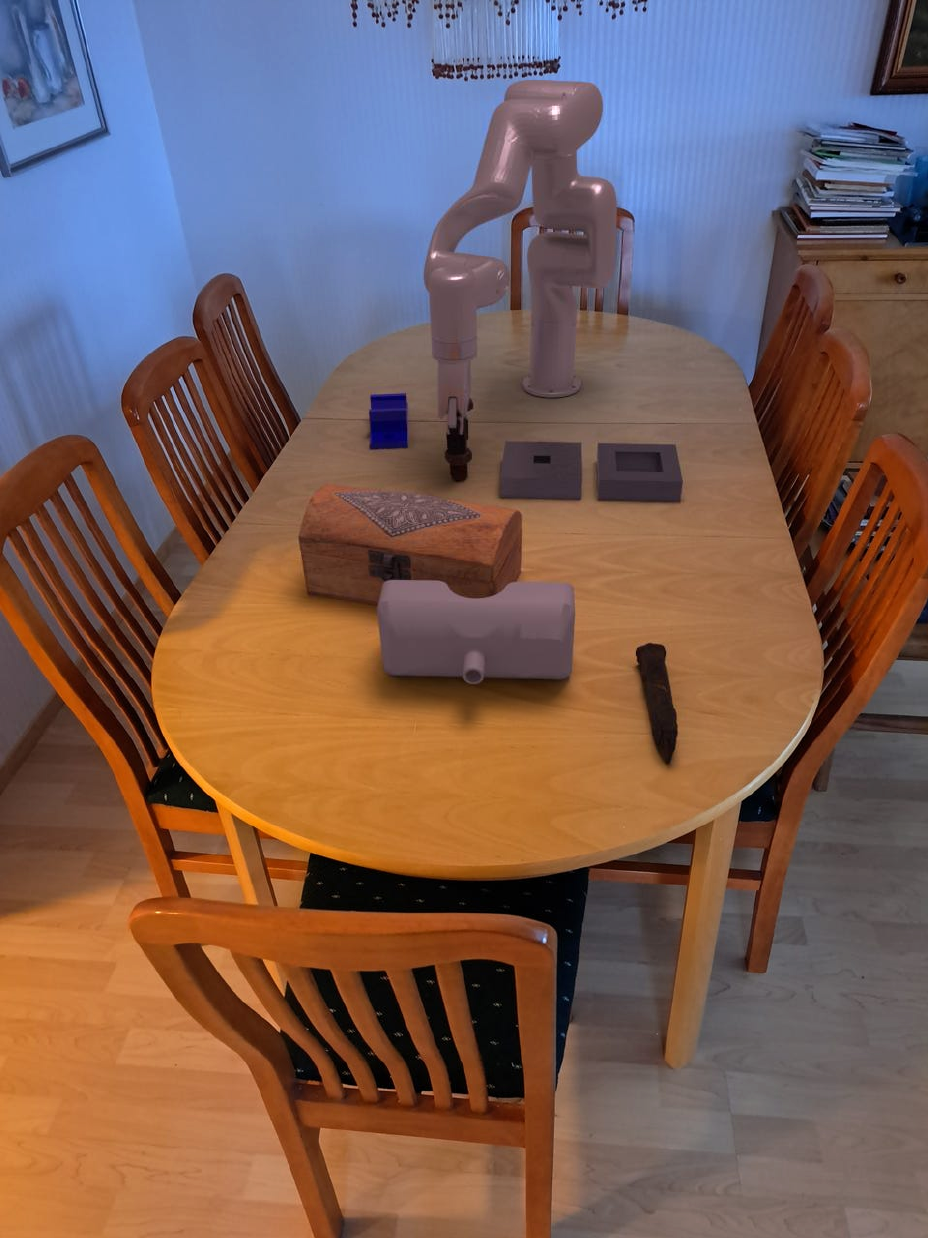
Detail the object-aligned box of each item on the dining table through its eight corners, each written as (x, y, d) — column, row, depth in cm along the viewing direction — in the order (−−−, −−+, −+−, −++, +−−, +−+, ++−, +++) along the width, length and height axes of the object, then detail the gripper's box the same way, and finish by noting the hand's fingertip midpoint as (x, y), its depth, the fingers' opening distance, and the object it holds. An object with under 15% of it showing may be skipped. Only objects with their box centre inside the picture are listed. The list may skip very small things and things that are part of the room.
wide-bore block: (596, 462, 167) (597, 442, 165) (672, 464, 166) (675, 444, 163) (598, 500, 156) (599, 479, 154) (680, 502, 155) (682, 481, 152)
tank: (376, 711, 115) (367, 634, 108) (392, 633, 128) (385, 560, 120) (572, 715, 113) (577, 638, 106) (569, 636, 126) (573, 562, 119)
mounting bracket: (373, 412, 188) (371, 385, 185) (408, 410, 189) (406, 383, 185) (370, 451, 174) (368, 422, 170) (408, 449, 174) (406, 420, 171)
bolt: (476, 471, 166) (474, 394, 156) (473, 484, 162) (471, 406, 152) (444, 470, 166) (441, 393, 157) (441, 483, 162) (437, 405, 153)
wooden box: (301, 599, 135) (288, 519, 127) (347, 542, 148) (337, 466, 139) (492, 634, 127) (491, 551, 119) (523, 571, 140) (524, 492, 131)
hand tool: (634, 663, 121) (637, 636, 119) (664, 664, 121) (667, 637, 118) (643, 766, 106) (647, 738, 104) (678, 768, 106) (682, 740, 103)
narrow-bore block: (505, 460, 169) (505, 441, 166) (580, 462, 167) (581, 442, 165) (500, 497, 158) (500, 477, 155) (580, 499, 156) (581, 479, 154)
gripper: (438, 328, 156) (442, 425, 167) (425, 365, 143) (431, 468, 154) (481, 328, 155) (482, 426, 166) (472, 366, 142) (474, 469, 153)
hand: (457, 445), depth 160 cm, fingers open, 4 cm apart
